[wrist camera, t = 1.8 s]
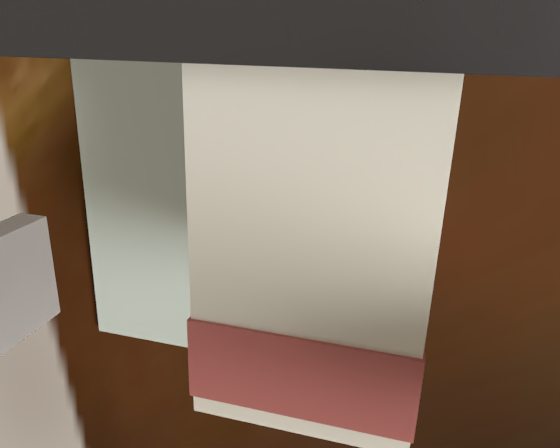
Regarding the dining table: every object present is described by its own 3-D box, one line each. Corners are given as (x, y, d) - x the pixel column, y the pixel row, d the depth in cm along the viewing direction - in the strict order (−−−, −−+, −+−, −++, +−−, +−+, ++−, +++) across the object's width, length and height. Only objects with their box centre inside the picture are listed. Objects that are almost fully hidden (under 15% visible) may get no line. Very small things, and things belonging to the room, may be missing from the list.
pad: (245, 353, 24) (242, 357, 24) (103, 326, 26) (99, 330, 26) (247, 54, 20) (243, 54, 19) (75, 49, 22) (69, 48, 21)
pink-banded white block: (417, 262, 21) (410, 462, 11) (298, 247, 22) (190, 412, 12) (469, -135, 16) (546, -460, 6) (314, -125, 17) (159, -382, 7)
